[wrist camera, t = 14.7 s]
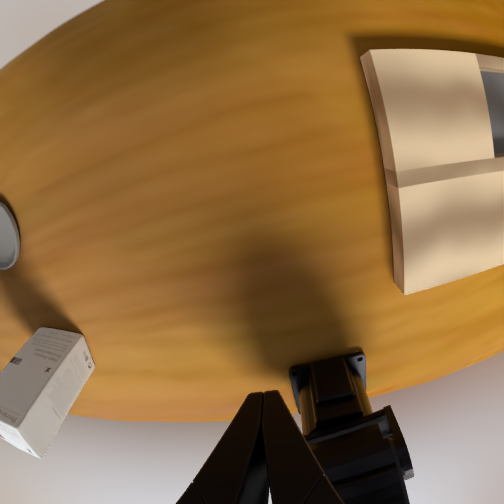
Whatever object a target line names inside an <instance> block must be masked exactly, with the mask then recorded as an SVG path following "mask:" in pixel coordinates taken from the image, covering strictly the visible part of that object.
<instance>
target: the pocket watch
mask: <svg viewBox="0 0 504 504" xmlns="http://www.w3.org/2000/svg"><path fill="white" fill-rule="evenodd" d="M19 250H20V239H19V232H18V228H17V224H16V222H15V220H14V217H13V215H12V214H11V212H10V211H9V209H8V208H7V206H6V205H4V204H3V203H2V202H0V269H3V270H5V269H8V268H10V267H11V266H13V265H14V264H15V262H16V261H17V259H18V255H19Z"/></svg>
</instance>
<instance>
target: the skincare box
mask: <svg viewBox="0 0 504 504" xmlns="http://www.w3.org/2000/svg"><path fill="white" fill-rule="evenodd" d="M94 368H95V365H94V362H93V359H92V356H91V354H90V351H89V348H88V346H87V343H86V341H85V338H84V336H83V335H81V334H79V333H73V332H69V331H64V330H58V329H52V328H45V327H41V328H39V329H38V330H37V331H36V332H35V333H34V334H33V335H32V337H31V338H30V339H29V340H28V341H27V342H26V343H25V344H24V346H23V347H22V348H21V349H20V350H19V351H18V353H17V354H16V355H15V356H14V357H13V358H12V360H11V361H10V362H9V363H8V364H7V366H6V367H5V368H4V369H3V370H2V372H1V373H0V438H2V439H4V440H6V441H7V442H9V443H11V444H12V445H14V446H15V447H17V448H19V449H20V450H23V451H25V452H27V453H29V454H32V455H34V456H36V457H38V458H40V459H43V457H44V456H45V453H46V451H47V450H48V448H49V446H50V444H51V442H52V440H53V439H54V437H55V435H56V433H57V431H58V430H59V427H60V426H61V424H62V422H63V420H64V419H65V417H66V415H67V413H68V412H69V410H70V408H71V407H72V405H73V403H74V401H75V400H76V398H77V396H78V395H79V393H80V391H81V390H82V388H83V386H84V385H85V383H86V381H87V380H88V378H89V376H90V375H91V373H92V371H93V370H94Z"/></svg>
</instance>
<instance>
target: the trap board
mask: <svg viewBox="0 0 504 504" xmlns="http://www.w3.org/2000/svg"><path fill="white" fill-rule="evenodd" d="M360 60H361V64H362V67H363V71H364V75H365V78H366V82H367V86H368V90H369V94H370V98H371V102H372V107H373V111H374V116H375V121H376V125H377V130H378V136H379V141H380V146H381V152H382V158H383V164H384V171H385V178H386V185H387V193H388V201H389V210H390V220H391V231H392V244H393V261H394V283H395V284H396V285H397V287H398V288H399V289H400V290H401V292H402V293H403V294H404V295H408V294H411V293H415V292H418V291H422V290H425V289H429V288H432V287H435V286H439V285H442V284H445V283H448V282H452V281H455V280H458V279H461V278H464V277H467V276H470V275H473V274H476V273H479V272H482V271H485V270H488V269H491V268H494V267H496V266H499V265H502V264H504V58H501V57H495V56H489V55H482V54H475V53H467V52H457V51H445V50H427V49H376V50H369V51H367V52H366V53H365V54H363V55H362V56H361V57H360Z"/></svg>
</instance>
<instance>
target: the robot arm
mask: <svg viewBox="0 0 504 504" xmlns="http://www.w3.org/2000/svg"><path fill="white" fill-rule="evenodd" d="M359 357H361V358H359ZM358 358H359V359H358ZM294 371H297V372H294ZM289 376H290V380H291V384H292V388H293V392H294V396H295V400H296V404H297V408H298V412H299V414H301V421H302V431H303V435H302V433H301V431H300V429H299V427H298V426H297V424H296V422H295V420H294V418H293V417H292V415H291V413H290V411H289V409H288V407H287V406H286V404H285V402H284V400H283V398H282V396H281V395H280V393H279V391H278V390H272V391H265V392H264V393H263V392H254V393H250V394H248V396H247V397H246V399H245V401H244V402H243V404H242V406H241V407H240V409H239V411H238V412H237V414H236V415H235V417H234V419H233V420H232V422H231V424H230V425H229V427H228V428H227V430H226V431H225V433H224V435H223V436H222V438H221V439H220V441H219V442H218V444H217V445H216V447H215V448H214V450H213V451H212V453H211V454H210V456H209V458H208V459H207V461H206V462H205V463H204V465H203V467H202V468H201V469H200V471H199V472H198V474H197V475H196V477H195V478H194V480H193V483H191V484H190V485H189V487H188V488H187V489H186V491H185V492H184V494H183V495H182V496H181V497H180V499H179V500H178V501H177V503H176V504H268V498H269V488H270V493H271V499H272V504H410V503H409V499H408V495H407V490H406V486H405V482H404V480H407V479H409V478H412V477H414V473H413V467H412V463H411V459H410V455H409V452H408V449H407V446H406V443H405V440H404V438H403V435H402V432H401V430H400V427H399V425H398V423H397V420H396V418H395V416H394V413H393V411H392V409H391V406H390V405H388V406H386V407H384V408H383V409H381V410H379V411H376V412H374V413H373V412H372V409H371V405H370V402H369V399H368V396H367V393H366V357H365V354H364V353H363V352H357V353H353V354H349V355H345V356H340V357H336V358H332V359H327V360H322V361H318V362H313V363H308V364H303V365H298V366H293V367H291V368H290V369H289Z"/></svg>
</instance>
